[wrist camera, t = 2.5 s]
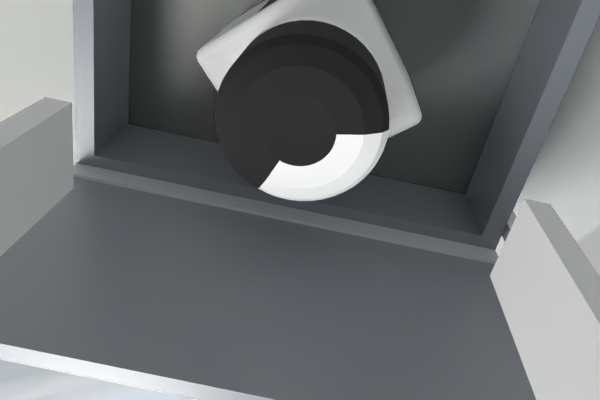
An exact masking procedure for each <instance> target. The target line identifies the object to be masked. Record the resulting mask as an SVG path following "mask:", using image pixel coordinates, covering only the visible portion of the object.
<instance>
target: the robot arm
mask: <svg viewBox="0 0 600 400" xmlns="http://www.w3.org/2000/svg"><path fill="white" fill-rule="evenodd" d="M73 188H74V180H73V137H72V103H70V102H65V101H61V100H56V99H51V98H46V97H45V98H43V99H41V100H39V101H38V102H36V103H34V104H32V105H31V106H29V107H27V108H25V109H23V110H22V111H20V112H18V113H16V114H15V115H13V116H11V117H9V118H7V119H6V120H4V121H2V122H0V256H1V255H2V254H4V253H5V252H6V251H7V250H8V249H9V248H10V247H11V246H12V245H13V244H14V243H15V242H16V241H17V240H18V239H20V238H21V237H22V236H23V235H24V234H25V233H26V232H27V231H28V230H29V229H30V228H31V227H32V226H33V225H34V224H36V223H37V222H38V221H39V220H40V219H41V218H42V217H43V216H44V215H45V214H46V213H47V212H48V211H49V210H50V209H52V208H53V207H54V206H55V205H56V204H57V203H58V202H59V201H60V200H61V199H62V198H63V197H64V196H65V195H66V194H67V193H69V192H70V191H71V190H72V189H73ZM490 278H491V280H492V283H493V286H494V288H495V291H496V294H497V296H498V299H499V302H500V304H501V307H502V310H503V312H504V315H505V318H506V320H507V323H508V326H509V328H510V331H511V334H512V336H513V339H514V342H515V344H516V347H517V350H518V352H519V355H520V358H521V360H522V363H523V366H524V368H525V371H526V374H527V376H528V379H529V382H530V384H531V387H532V390H533V392H534V395H535V398H536V400H600V276H599V274H598V273H597V272H596V270H595V269H594V267H593V266H592V264H591V263H590V261H589V260H588V258H587V257H586V256H585V254H584V253H583V251H582V250H581V248H580V247H579V245H578V244H577V242H576V241H575V239H574V238H573V237H572V235H571V234H570V232H569V231H568V229H567V228H566V226H565V225H564V223H563V222H562V220H561V219H560V218H559V216H558V215H557V213H556V212H555V210H554V209H553V207H552V206H551V204H546V203H541V202H537V201H532V200H527V199H524V200H523V203H522V205H521V207H520V209H519V212H518V214H517V216H516V218H515V221H514V223H513V225H512V227H511V229H510V232H509V234H508V236H507V238H506V241H505V243H504V245H503V247H502V250H501V252H500V254H499V256H498V259H497V261H496V263H495V265H494V267H493V270H492V272H491V274H490Z"/></svg>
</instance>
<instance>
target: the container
mask: <svg viewBox="0 0 600 400" xmlns="http://www.w3.org/2000/svg"><path fill="white" fill-rule="evenodd" d="M197 60H198V62H199V64H200V65H201V67H202V68H203V70H204V71H205V73H206V74H207V76H208V78H209V79H210V81H211V82H212V84H213V85H214V87H215V88H216V90H217V91H218V93H217V97H216V101H215V111H214V116H215V128H216V133H217V137H218V140H219V143H220V146H221V148H222V150H223V152H224V154H225V156H226V158H227V159H228V161H229V162H230V164H231V165H232V166H233V168H234V169H235V170H236V171H237V172H238V173H239V174H240V175H241V176H242V177H243V178H244V179H245V180H247V181H248V182H249V183H250V184H252V185H253V186H255V187H256V188H258V189H260V190H262V191H264V192H266V193H268V194H271V195H273V196H276V197H279V198H283V199H288V200H295V201H315V200H321V199H326V198H330V197H333V196H336V195H338V194H341V193H343V192H345V191H347V190H349V189H350V188H352V187H354V186H355V185H356V184H358V183H359V182H360V181H361V180H363V179H364V178H365V177H366V176H367V175H368V174H369V173H370V172H371V170H372V169H373V168H374V166H375V165H376V163H377V162H378V160H379V158H380V156H381V155H382V153H383V150H384V147H385V145H386V142H387V139H388V138H390V137H392V136H394V135H396V134H398V133H400V132H402V131H404V130H406V129H408V128H410V127H412V126H415V125H417V124H418V123H419V122H420V121H421V118H422V113H421V110H420V107H419V104H418V101H417V98H416V95H415V92H414V89H413V86H412V84H411V81H410V78H409V75H408V72H407V70H406V68H405V66H404V64H403V62H402V60H401V58H400V56H399V54H398V51H397V49H396V47H395V45H394V43H393V41H392V39H391V37H390V35H389V33H388V31H387V29H386V27H385V25H384V23H383V20H382V18H381V16H380V14H379V12H378V10H377V8H376V6H375V4H374V2H373V0H265V1H263V2H262V3H260V4H258V5H257V6H255V7H254V8H252V9H250V10H249V11H247V12H245V13H244V14H242V15H241V16H239V17H237V18H236V19H234V20H232V21H231V22H230V23H229V24H228V25H227V26H225V27H224V28H223V29H222V30H221V31H220V32H219V33H217V34H216V35H215V36H214V37H213V38H212V39H210V40H209V41H208V42H207V43H206V44H205V45H204V46H202V47H201V48H200V49H199V50H198V52H197Z"/></svg>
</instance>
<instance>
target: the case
mask: <svg viewBox="0 0 600 400" xmlns="http://www.w3.org/2000/svg"><path fill="white" fill-rule="evenodd" d="M131 5H132V0H73V28H74V69H75V110H76V151H77V163H76V164H75V165H74V166H73V180H74V188H73V189H72V190H71V191H70V192H69V193H67V194H66V195H65V196H64V197H63V198H62V199H61V200H60V201H59V202H58V203H57V204H56V205H55V206H54V207H53V208H52V209H50V210H49V211H48V212H47V213H46V214H45V215H44V216H43V217H42V218H41V219H40V220H39V221H38V222H37V223H36V224H34V225H33V226H32V227H31V228H30V229H29V230H28V231H27V232H26V233H25V234H24V235H23V236H22V237H21V238H20V239H18V240H17V241H16V242H15V243H14V244H13V245H12V246H11V247H10V248H9V249H8V250H7V251H6V252H5V253H4V254H2V255H1V256H0V360H5V361H10V362H15V363H20V364H25V365H30V366H35V367H40V368H44V369H49V370H54V371H59V372H64V373H69V374H74V375H79V376H84V377H89V378H94V379H98V380H103V381H108V382H113V383H118V384H123V385H128V386H133V387H138V388H143V389H147V390H152V391H157V392H162V393H167V394H172V395H177V396H182V397H187V398H192V399H197V400H536V398H535V395H534V392H533V390H532V387H531V384H530V382H529V379H528V376H527V374H526V371H525V368H524V366H523V363H522V360H521V358H520V355H519V352H518V350H517V347H516V344H515V342H514V339H513V336H512V334H511V331H510V328H509V326H508V323H507V320H506V318H505V315H504V312H503V310H502V307H501V304H500V302H499V299H498V296H497V294H496V291H495V288H494V286H493V283H492V280H491V278H490V274H491V272H492V270H493V267H494V265H495V263H496V261H497V259H498V256H497V253H496V251H495V249H496V247H497V245H498V242H499V240H500V238H501V236H503V238H504V241H506V238H507V236H508V234H509V232H510V229H511V227H512V225H513V223H514V221H515V218H516V215H515V214H514V212H513V209H514V207H515V204H516V202H517V200H518V198H519V195H520V193H521V191H522V189H523V186H524V184H525V182H526V180H527V177H528V175H529V173H530V171H531V168H532V166H533V164H534V162H535V159H536V157H537V155H538V153H539V151H540V148H541V146H542V144H543V142H544V139H545V137H546V135H547V133H548V130H549V128H550V126H551V124H552V121H553V119H554V117H555V115H556V112H557V110H558V108H559V106H560V104H561V101H562V99H563V97H564V95H565V92H566V90H567V88H568V86H569V83H570V81H571V79H572V77H573V74H574V72H575V70H576V68H577V65H578V63H579V61H580V59H581V56H582V54H583V52H584V50H585V48H586V45H587V43H588V41H589V39H590V36H591V34H592V32H593V30H594V27H595V25H596V23H597V21H598V18H599V16H600V0H541V1H540V4H539V7H538V9H537V12H536V14H535V17H534V20H533V22H532V25H531V27H530V30H529V32H528V35H527V38H526V40H525V43H524V45H523V48H522V50H521V53H520V56H519V58H518V61H517V63H516V66H515V68H514V71H513V74H512V76H511V79H510V81H509V84H508V86H507V89H506V92H505V94H504V97H503V99H502V102H501V104H500V107H499V110H498V112H497V115H496V117H495V120H494V122H493V125H492V128H491V130H490V133H489V135H488V138H487V140H486V143H485V146H484V148H483V151H482V153H481V156H480V158H479V161H478V164H477V166H476V169H475V171H474V174H473V176H472V179H471V182H470V184H469V187H468V189H467V192H466V194H461V193H456V192H451V191H447V190H442V189H437V188H432V187H428V186H423V185H418V184H413V183H408V182H404V181H399V180H394V179H389V178H384V177H380V176H375V175H370V174H368V175H367V176H366V177H365V178H364V179H363V180H361V181H360V182H359V183H358V184H356V185H355V186H354V187H352V188H350V189H349V190H347V191H345V192H343V193H341V194H338V195H336V196H333V197H330V198H326V199H321V200H315V201H295V200H288V199H283V198H279V197H276V196H273V195H271V194H268V193H266V192H264V191H262V190H260V189H258V188H256V187H255V186H253V185H252V184H250V183H249V182H248V181H247V180H245V179H244V178H243V177H242V176H241V175H240V174H239V173H238V172H237V171H236V170H235V169H234V168H233V166H232V165H231V164H230V162H229V161H228V159H227V158H226V156H225V154H224V152H223V150H222V148H221V146H220V143H217V142H212V141H207V140H202V139H198V138H193V137H188V136H183V135H178V134H174V133H169V132H164V131H159V130H155V129H150V128H145V127H140V126H135V125H131V124H128V114H129V77H130V41H131Z"/></svg>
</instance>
